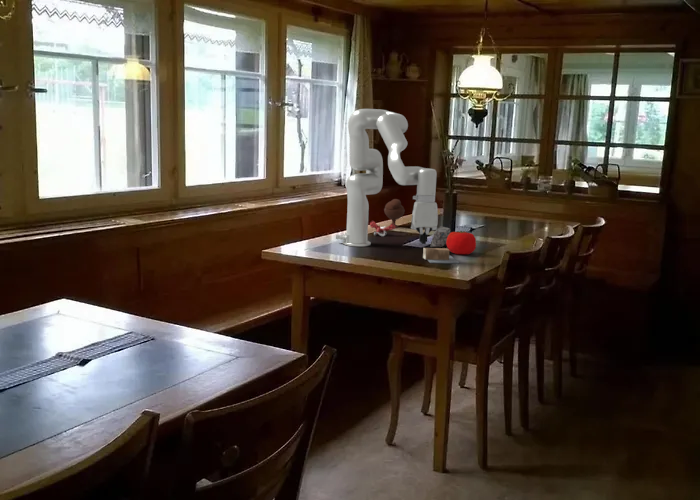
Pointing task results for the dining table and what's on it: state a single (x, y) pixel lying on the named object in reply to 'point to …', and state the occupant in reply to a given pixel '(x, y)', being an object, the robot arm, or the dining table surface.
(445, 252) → the block
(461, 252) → the tomato
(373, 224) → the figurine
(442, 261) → the mat
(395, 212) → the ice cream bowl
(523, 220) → the dining table surface
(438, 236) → the rock
